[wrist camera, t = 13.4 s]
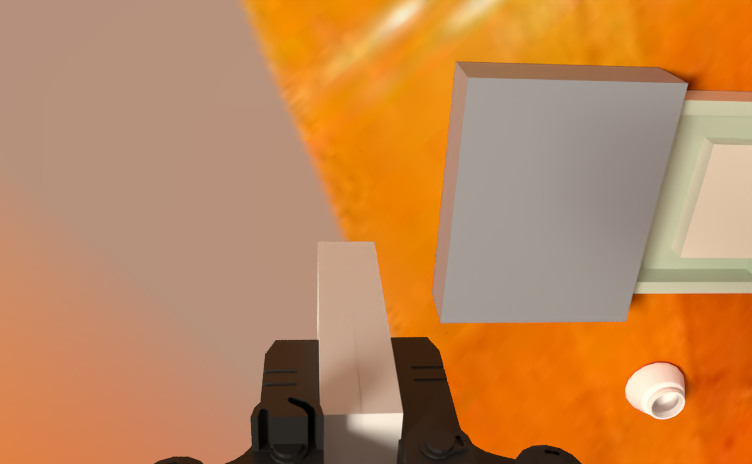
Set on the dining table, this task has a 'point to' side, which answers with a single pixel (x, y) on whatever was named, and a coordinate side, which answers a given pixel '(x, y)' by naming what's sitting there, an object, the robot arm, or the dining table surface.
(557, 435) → the dining table surface
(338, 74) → the dining table surface
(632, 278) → the grey drawer casing
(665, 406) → the white jar
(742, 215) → the card
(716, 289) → the tray
